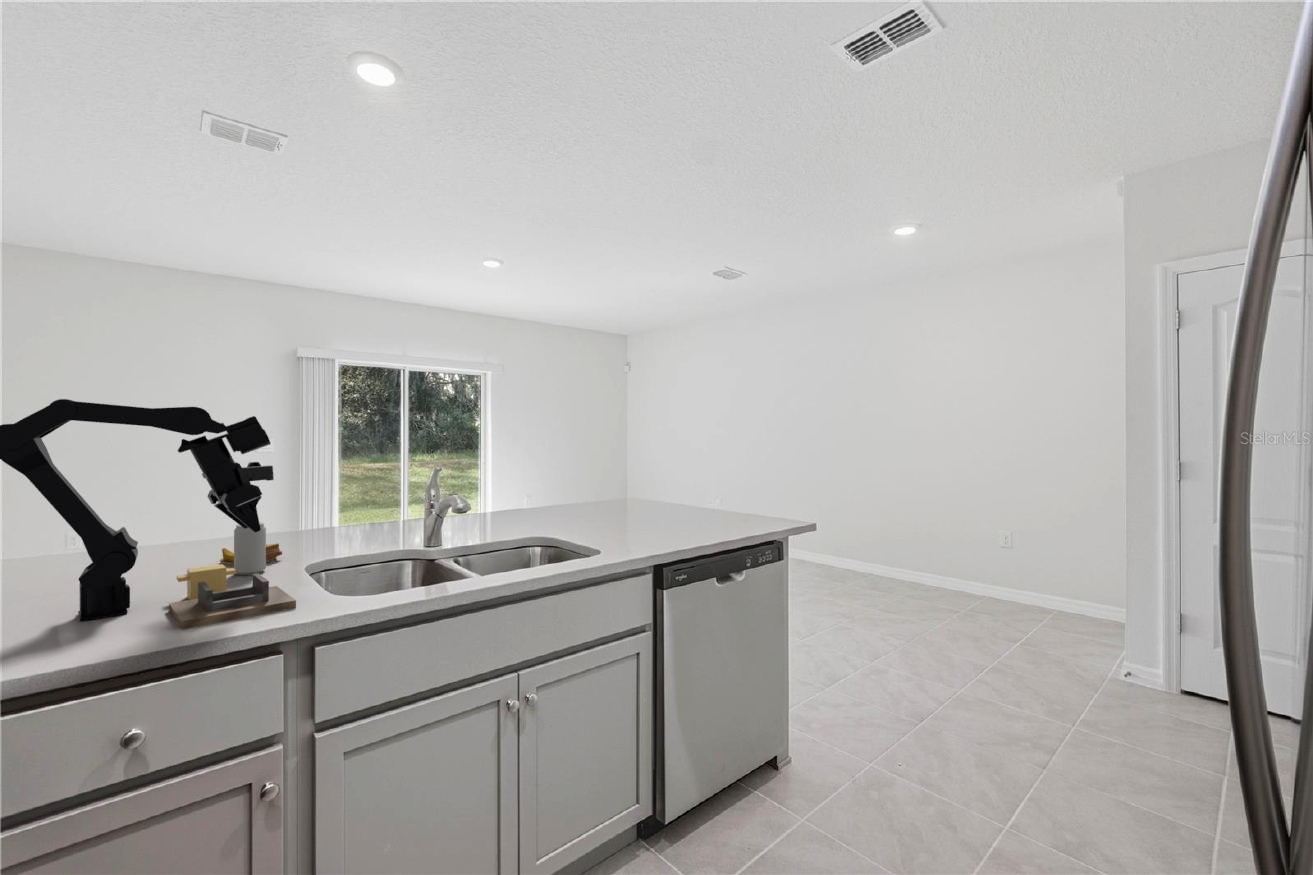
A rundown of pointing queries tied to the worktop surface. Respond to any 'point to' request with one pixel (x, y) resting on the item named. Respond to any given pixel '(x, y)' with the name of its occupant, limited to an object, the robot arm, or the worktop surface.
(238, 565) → the beverage can
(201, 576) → the block
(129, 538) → the robot arm
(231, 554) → the toy sandwich meal
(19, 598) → the worktop surface
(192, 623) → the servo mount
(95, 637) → the worktop surface
